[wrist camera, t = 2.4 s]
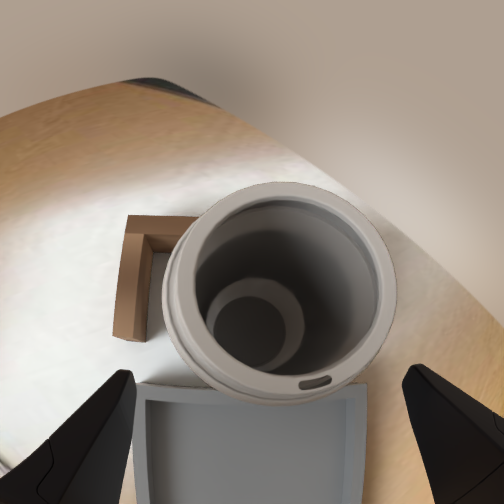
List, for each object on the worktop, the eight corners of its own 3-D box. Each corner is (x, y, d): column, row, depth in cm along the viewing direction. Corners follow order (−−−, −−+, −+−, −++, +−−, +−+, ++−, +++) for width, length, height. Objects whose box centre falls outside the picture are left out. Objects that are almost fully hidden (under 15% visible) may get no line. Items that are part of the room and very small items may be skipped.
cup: (200, 391, 17) (170, 432, 6) (186, 287, 19) (149, 180, 8) (313, 373, 18) (433, 371, 7) (294, 273, 20) (375, 166, 9)
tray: (343, 545, 13) (353, 556, 11) (151, 552, 12) (146, 566, 10) (353, 382, 18) (367, 383, 16) (140, 382, 17) (131, 384, 15)
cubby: (364, 343, 19) (385, 339, 16) (127, 340, 18) (112, 335, 15) (355, 244, 22) (373, 227, 19) (138, 235, 20) (128, 215, 18)
